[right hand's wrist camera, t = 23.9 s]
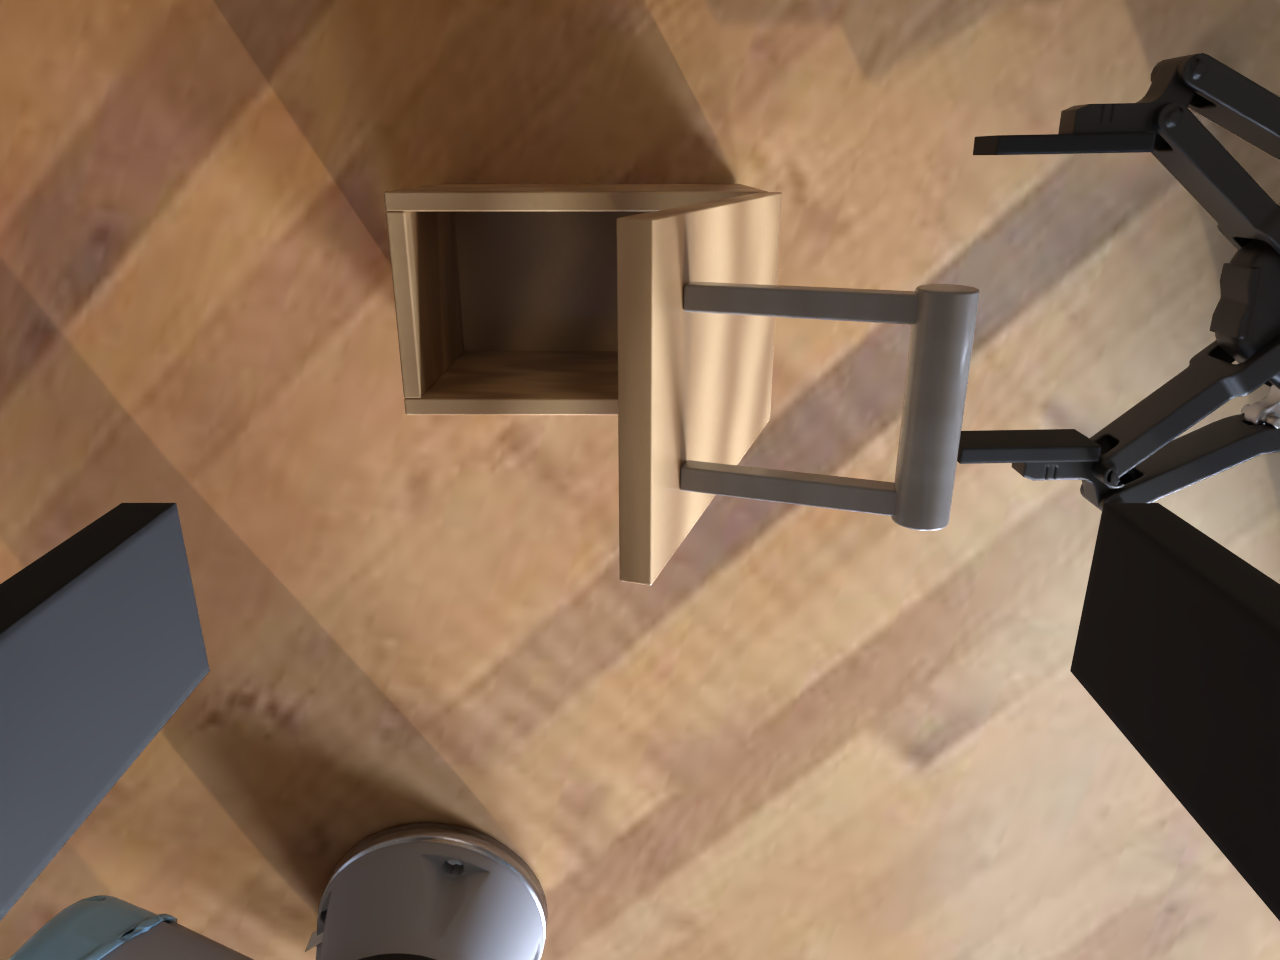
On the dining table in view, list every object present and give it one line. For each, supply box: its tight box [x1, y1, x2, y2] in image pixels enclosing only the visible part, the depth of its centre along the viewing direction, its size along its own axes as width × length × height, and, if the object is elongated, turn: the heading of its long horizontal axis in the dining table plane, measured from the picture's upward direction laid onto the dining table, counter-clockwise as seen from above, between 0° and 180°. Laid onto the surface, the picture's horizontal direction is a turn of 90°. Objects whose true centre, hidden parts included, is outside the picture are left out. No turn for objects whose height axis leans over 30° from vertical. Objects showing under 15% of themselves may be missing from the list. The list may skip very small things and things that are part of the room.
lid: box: [617, 192, 980, 585], centre depth 27 cm, size 16×9×8 cm
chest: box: [384, 184, 767, 415], centre depth 41 cm, size 15×9×10 cm, turn 90°
